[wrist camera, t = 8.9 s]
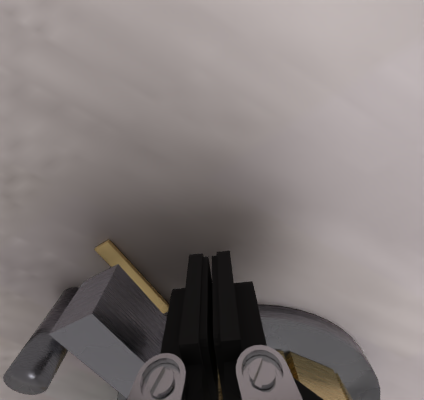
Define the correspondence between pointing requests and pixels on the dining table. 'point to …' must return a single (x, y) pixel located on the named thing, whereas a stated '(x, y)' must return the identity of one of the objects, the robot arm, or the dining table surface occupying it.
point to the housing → (270, 315)
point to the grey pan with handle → (145, 336)
